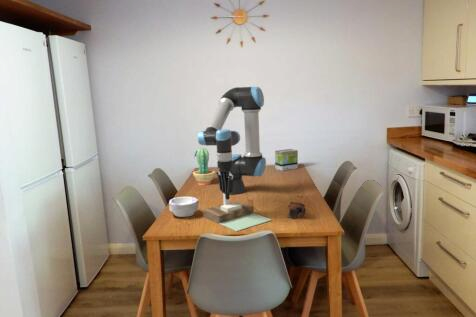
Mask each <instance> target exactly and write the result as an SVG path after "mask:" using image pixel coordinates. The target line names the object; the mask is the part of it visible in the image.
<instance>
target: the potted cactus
mask: <svg viewBox="0 0 476 317" xmlns="http://www.w3.org/2000/svg"><path fill="white" fill-rule="evenodd" d="M209 156H210V153H209V151H208V150H207V148H206V147H203V146H202V147H199V148H197V149H195V150H194V153H193V157H194V159H195V157H196V162H197V164H198V170H195V171H193V172H192V175H193V177H194V179H195V180H196V182H197V185H199V186H206V185H208V186H209V185H211V184H212V180H213V179H214V176H215V174H216V171H215V170H212V169H209V160H210V157H209Z"/></svg>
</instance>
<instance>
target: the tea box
mask: <svg viewBox="0 0 476 317" xmlns="http://www.w3.org/2000/svg"><path fill="white" fill-rule="evenodd" d="M274 154H275V155H274V168H275V169H276V170H277V171H281V172H284V171H288V170H297V169H298V167H299V166H298V165H299V164H298V163H299V161H298V160H299V158H298V156H299V155H298V154H299V153H298V150H297V149H292V148H287V149H279V150H275V151H274ZM296 168H297V169H296Z"/></svg>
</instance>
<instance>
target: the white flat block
mask: <svg viewBox="0 0 476 317" xmlns="http://www.w3.org/2000/svg"><path fill="white" fill-rule="evenodd" d="M233 202H234V203H231V202H229V203H230V204H226V205H223V204H221V205H222V206H221V210H223V211H225V212H231V211H235V210H238V209H242V205H241V204H238V203H235V201H233Z"/></svg>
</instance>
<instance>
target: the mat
mask: <svg viewBox="0 0 476 317" xmlns="http://www.w3.org/2000/svg"><path fill="white" fill-rule="evenodd" d="M272 220H273V219H272V218H268V217H265V216H263V215H260V214H258V213H255V212H254V213H252V214H249V215H245V216H242V217H239V218H235V219H232V220H228V221H225V222H222V223H219V224H218V225H220V226H223V227H225V228H228V229H229V230H232V231H233V232H239V231H242V230H246V229H250V228H253V227H255V226H258V225H262V224H265V223H269V222H271V221H272Z"/></svg>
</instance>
